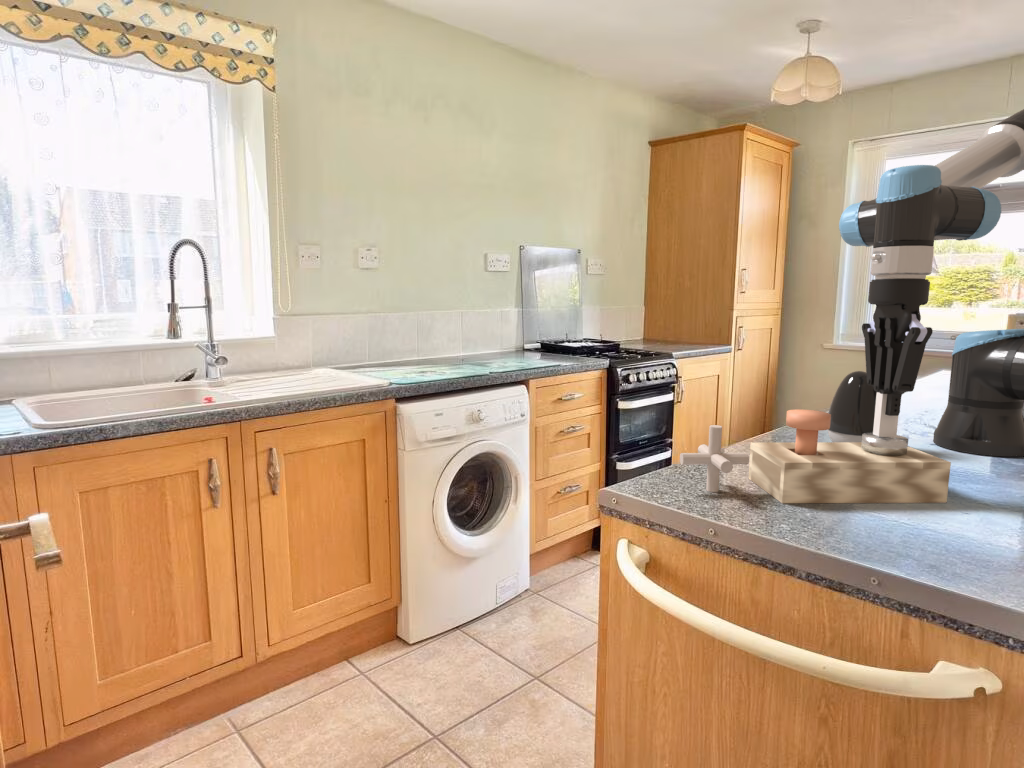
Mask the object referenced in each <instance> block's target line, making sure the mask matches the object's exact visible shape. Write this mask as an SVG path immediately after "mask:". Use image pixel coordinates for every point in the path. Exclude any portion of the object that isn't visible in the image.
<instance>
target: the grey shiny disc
mask: <svg viewBox="0 0 1024 768" xmlns="http://www.w3.org/2000/svg"><path fill="white" fill-rule="evenodd" d="M908 446H909V438H908V437H906V436H903V435H899V434H897V436H896V437H894V436H876V435H873V433H864V434H862V444H861V448H862V449H864V450H866V451H870V452H872V453H875V454H877V455H902V454H906V453H907V448H908Z"/></svg>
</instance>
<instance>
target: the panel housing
mask: <svg viewBox="0 0 1024 768" xmlns="http://www.w3.org/2000/svg"><path fill="white" fill-rule="evenodd" d="M795 443H796V441H795V442H794V441H793V442H792V441H791V442H790V441H789V442H786V441H785V442H780V441H779V442H750V445H749V447H750V448H749V463H748V464H749V465H748V479H749V480H750V481H751V482H753V483H754V484H755V485H757V486H758V487H759V488H761V489H762V490H764V491H765V492H766V493H768V494H769V495H770V496H772V497H773V498H774V499H776V500H777V501H778V502H780V503H781V504H899V503H901V504H903V503H904V504H909V503H912V504H929V503H930V504H932V503H933V504H935V503H938V504H940V503H942V504H943V503H947V501H948V493H949V492H948V491H949V483H950V475H951V474H950V473H951V465H952V462H951V461H948V460H945V459H943V458H940V457H938V456H935V455H932V454H929V453H928V452H924V451H921V450H919V449H916V448H914V447H912V446H911V447H910V446H909V445H908V448H907V453H906V454H902V455H877V454H875V453H872V452H870V451H866V450H864V449H862V448H861V444H862V442H832V441H831V442H828V441H827V442H825V441H824V442H822V441H821V442H820V441H818V443H817V455H798V454H796V453H795Z"/></svg>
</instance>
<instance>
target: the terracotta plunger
mask: <svg viewBox="0 0 1024 768" xmlns="http://www.w3.org/2000/svg"><path fill="white" fill-rule="evenodd" d="M785 421H786V422H785V425H786V426H787V427H789V428H793V429H796V431H795V442H796V443H795V453H796V454H798V455H817V443H818V442H819V440H818V439H819V431H828V429H830V421H831V414H829V413H828V412H826V411H821V410H813V409H802V408H801V409H796V408H795V409H789V410H786V418H785Z"/></svg>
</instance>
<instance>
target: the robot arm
mask: <svg viewBox="0 0 1024 768" xmlns="http://www.w3.org/2000/svg"><path fill="white" fill-rule="evenodd" d="M1022 171H1024V108H1023V109H1022V110H1019V111H1017V112H1016V113H1013V114H1012V115H1010V116H1008V117H1006V118H1005V119H1003V120H1001V121H999V122H998V123H996V124H995V125H992V126H991V127H988V128H987V129H986V130H984V131H983V132H982V133H981V134H980V135H979V137H978V138H977V139H976V142H974V143H972V144H970V145H968V146H967V147H965V148H963V149H962V150H960V151H958V152H956V153H955V154H953V155H951V156H950V157H948V158H946V159H944V160H942V161H941V162H938V163H937V164H935V165H932V164H914V165H906V166H904V165H903V166H899V167H894V168H890V169H888V170H886V171H885V172H883V174H882V175H880V179H879V184H878V189H877V190H878V191H877V196H876V197H877V198H873V199H870V200H861V201H860V202H857V203H852V204H850V205H849V206H847V207H846V208H845V209H844V210H843V211H842V213H841V216H840V218H839V223H838V229H839V233H840V236H841V238H842V240H843V241H844V243H846V244H847V245H849V246H852V247H866V248H869V247H872V248H873V250H872V255H871V257H870V258H871V268H870V269H871V271H870V274H871V275H872V276H873V277H874V276H875V279H871V280H870V281H869V287H868V297H867V301H868V303H869V304H870V305H875V310H874V312H873V315H872V318H873V319H872V320H871V321H870V322H869V323H862V325H861V331H862V334H863V338H864V352H865V353H864V356H865V372H866V376H867V384H868V385H872V386H873V388H874V391H876V399H875V401H876V402H875V416H874V427H873V435H876V436H894V437H896V436H897V435H898V425H899V424H898V423H899V416H900V412H901V403H902V395H904V394H905V393H908V392H913V391H914V390H915V386H916V382H917V379H918V375H919V372H920V367H921V363H922V360H923V356H924V352H925V349H926V346H927V343H928V341H929V340H930V338H931V337H932V335H933V331H934V330H933V328H932V327H931V326H927V327H926V326H924V325H923V324H922V323H921V319H922V316H921V313H920V307H921V306H924V305H925V306H926V305H927V304H928V303H929V296H930V288H931V287H930V286H931V281H930V280H929V278H928V279H927V277H926V276H930V275H931V274H932V273H933V272H932V271H933V260H934V247H935V241H941V240H942V241H943V240H956V241H968V240H977V239H980V238H983V237H985V236H986V235H988V234H989V233H990V232H991V231H993V230H994V229H995V228H996V226H997V225H998V224H999V223H998V222H999V221H1000V219H1001V214H1002V203H1001V200H1000V199H999V197H998V196H997V195H996V194H995V193H993V191H990V190H987V189H983V187H986V186H987V185H989V184H990V183H992V182H994V181H995V180H998V179H999V178H1008V177H1013V176H1014V175H1017V174H1019V173H1020V172H1022ZM951 359H952V360H951V367H950V378H949V388H948V400H947V405H946V408H945V410H944V411H943V414H942V416H941V418H940V420H939V422H938V424H937V427H936V428H935V429H934V432H933V440H932V442H933V443H934V444H935V445H937V446H940V447H942V448H945V449H949V450H952V451H958V452H961V453H962V452H963V453H968V454H975V455H983V456H992V457H1023V456H1024V414H1023V409H1024V407H1023V406H1024V328H1010V329H1009V328H1007V329H994V330H992V329H991V330H978V331H967V332H962V333H959V335H957V336H956V338H955V340H954V345H953V350H952V353H951Z"/></svg>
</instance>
